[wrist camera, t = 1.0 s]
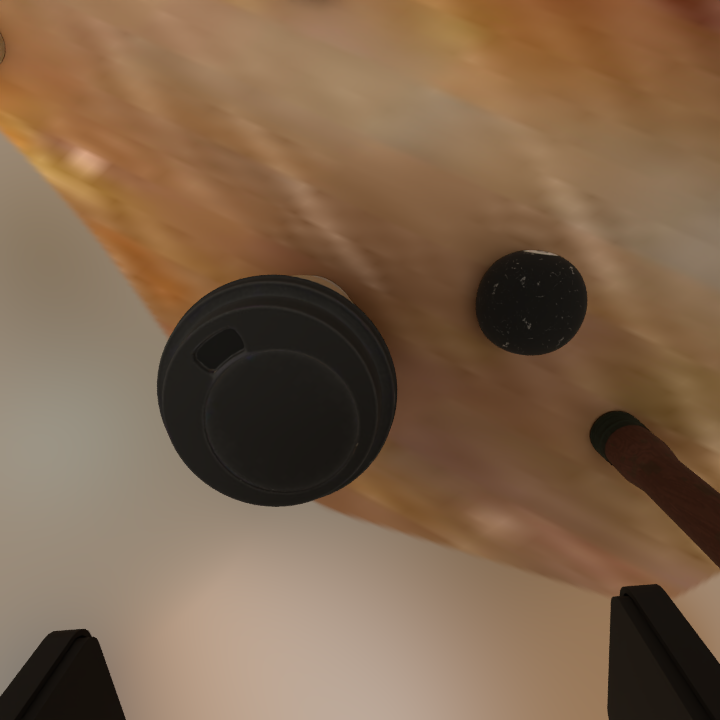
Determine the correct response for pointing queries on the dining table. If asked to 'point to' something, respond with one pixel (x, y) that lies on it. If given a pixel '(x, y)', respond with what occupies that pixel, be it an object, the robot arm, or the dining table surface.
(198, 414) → the coffee cup
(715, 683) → the robot arm
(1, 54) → the sage pin
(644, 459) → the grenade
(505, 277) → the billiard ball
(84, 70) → the dining table surface
